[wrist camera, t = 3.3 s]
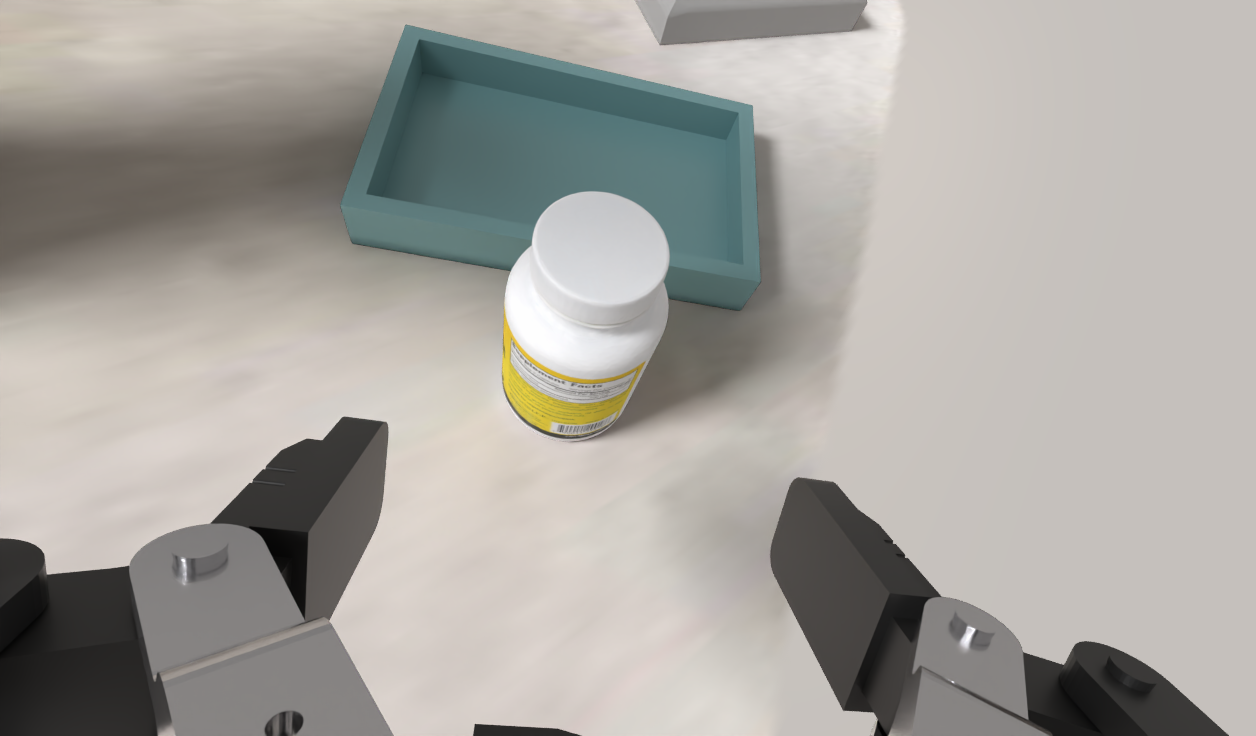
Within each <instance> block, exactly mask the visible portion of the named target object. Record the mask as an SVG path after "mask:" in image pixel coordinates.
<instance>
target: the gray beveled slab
mask: <svg viewBox="0 0 1256 736" xmlns="http://www.w3.org/2000/svg"><path fill="white" fill-rule="evenodd" d="M635 2H636V3H637V5H638V7H639V9H640V11H641V12H642V14H643V16H644V18H645V20H646V21H647V23H648V25H649V27H650V29H651V30H652V32H653V34H654V36H655V38H656V39H657V41H658V43H659V45H669V44H683V43H697V42H710V41H724V40H738V39H752V38H766V37H779V36H793V35H807V34H821V33H835V32H848V31H851V30H852V29H853V27H854V25H855V24H856V22H857V20H858V18H859V17H860V15H861V13H862V11H863V10H864V8H865V6H866V5H867V0H635Z"/></svg>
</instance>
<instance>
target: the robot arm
mask: <svg viewBox="0 0 1256 736" xmlns="http://www.w3.org/2000/svg"><path fill="white" fill-rule="evenodd" d="M387 445H388V424H387V423H386V422H382V421H374V420H367V419H359V418H352V417H342V418H341V419H340V421H339V422H338V423H337V424H336V425H335V426H334V428H333V429H332V430H331V431H330V432H329V433H328V435H327V436H326V437H325V438H324V439H323V440H314V439H305V440H303V441H301V442H298V443H296V444H294V445H292V446H290V447H288V448H286V449H283V450H281V451H280V452H279V453H278V454H277V455H276V456H275V457H274V458H273V460H272V461H271V462H270V463H269V464H268V465H267V466H266V469H265V470H264V469H263V470H262V471H261V472H260V473H259V474H258V475H257V476H256V477H255V478H254V479H253V482H252V483H249V484H248V485H247V486H246V487H245V488H244V489H243V490H242V491H241V492H240V493H239V495H238V496H237V497H236V498H235V499H234V500H233V501H232V502H231V503H230V504H229V505H228V506H227V507H226V508H225V509H224V510H223V511H222V512H221V513H220V514H219V515H218V516H217V517H216V518H215V519H214V520H213V521H212V522H211V523H210V524H204V525H197V526H191V527H187V528H183V529H179V530H176V531H173V532H170V533H167V534H165V535H163V536H161V537H158V538H157V539H155V540H153V541H151V542H149V543H148V544H147V545H145V546H144V547H143V548H141V549H140V550H139V551H138V552H137V553H136V554H135V556H134V557H133V559H132V560H131V563H130V566H126V567H118V568H111V569H101V570H91V571H80V572H70V573H60V574H50V575H47V574H46V566H45V557H44V553H43V552H42V550H41V549H40V548H38V547H37V546H36V545H34V544H31V543H29V542H25V541H21V540H15V539H0V736H394V735H393V734H392V732H391V730H390V728H389V726H388V725H387V723H386V721H385V719H384V717H383V716H382V714H381V712H380V710H379V708H378V707H377V705H376V703H375V701H374V699H373V698H372V696H371V694H370V692H369V690H368V689H367V687H366V685H365V683H364V681H363V680H362V678H361V676H360V674H359V672H358V671H357V669H356V667H355V665H354V663H353V662H352V660H351V658H350V656H349V654H348V653H347V651H346V649H345V647H344V645H343V644H342V642H341V640H340V638H339V636H338V635H337V633H336V631H335V629H334V628H333V626H332V624H331V623H330V622H329V620H330V618H331V616H332V614H333V612H334V610H335V608H336V606H337V604H338V602H339V600H340V598H341V596H342V594H343V592H344V590H345V588H346V586H347V584H348V583H349V581H350V579H351V577H352V575H353V573H354V571H355V569H356V567H357V565H358V563H359V561H360V559H361V557H362V555H363V553H364V551H365V549H366V547H367V545H368V543H369V541H370V539H371V537H372V535H373V533H374V531H375V529H376V526H377V523H378V520H379V517H380V513H381V508H382V502H383V493H384V481H385V469H386V457H387ZM770 558H771V567H772V571H773V574H774V576H775V578H776V580H777V582H778V584H779V586H780V588H781V590H782V592H783V594H784V595H785V597H786V599H787V601H788V603H789V605H790V607H791V609H792V611H793V613H794V615H795V617H796V619H797V621H798V623H799V625H800V627H801V628H802V630H803V633H804V635H805V637H806V638H807V641H808V642H809V644H810V646H811V648H812V650H813V652H814V654H815V656H816V658H817V660H818V662H819V664H820V666H821V668H822V670H823V672H824V674H825V676H826V678H827V680H828V682H829V684H830V685H831V688H832V689H833V691H834V693H835V695H836V697H837V699H838V701H839V703H840V705H841V707H842V709H843V710H844V711H861V712H874V713H875V715H876V717H877V719H876V722H875V724H874V727H873V729H872V731H871V734H870V736H1229V735H1228V734H1226V733H1225V732H1224V731H1223V730H1222V729H1221V728H1220V727H1219V726H1217V724H1215V723H1214V722H1213V721H1212V720H1211V719H1210V718H1209V717H1208V716H1207V715H1206V714H1204V713H1203V712H1202V711H1201V710H1200V709H1199V708H1198V707H1197V706H1195V705H1194V704H1193V703H1192V702H1191V701H1190V700H1189V699H1188V698H1187V697H1186V696H1184V695H1183V694H1182V693H1181V692H1180V691H1179V690H1178V689H1177V688H1175V687H1174V686H1173V685H1172V684H1171V683H1170V682H1169V681H1168V680H1166V679H1165V678H1164V677H1163V676H1162V675H1160V674H1159V673H1158V672H1156V671H1155V670H1154V669H1152V668H1151V667H1149V666H1148V665H1146V664H1144V663H1143V662H1141V661H1139V660H1137V659H1136V658H1134V657H1132V656H1130V655H1128V654H1126V653H1124V652H1122V651H1120V650H1117V649H1115V648H1112V647H1110V646H1107V645H1104V644H1100V643H1095V642H1087V641H1084V642H1079V643H1077V644H1076V645H1075V646H1074V647H1073V649H1072V651H1071V653H1070V655H1069V657H1068V659H1067V661H1066V663H1065V664H1064V665H1062V664H1058V663H1055V662H1052V661H1049V660H1046V659H1043V658H1039V657H1036V656H1033V655H1030V654H1027V653H1024V652H1023V651H1022V647H1021V645H1020V643H1019V641H1018V639H1017V638H1016V637H1015V635H1014V634H1013V633H1012V632H1011V631H1010V630H1009V629H1008V628H1007V627H1006V626H1005V625H1004V624H1002V623H1001V622H1000V621H998V620H997V619H996V618H994V617H993V616H991V615H990V614H988V613H986V612H985V611H983V610H981V609H979V608H977V607H975V606H973V605H971V604H968V603H966V602H963V601H960V600H957V599H952V598H946V597H941V596H940V594H939V593H938V592H937V591H936V590H935V589H934V587H933V586H932V585H931V584H930V583H929V582H928V581H927V580H926V578H925V577H924V576H923V575H922V574H921V573H920V571H919V570H918V569H917V568H916V567H915V566H914V565H913V563H912V562H911V561H910V560H909V559H908V558H905V554H904V553H903V552H902V551H901V550H900V548H899V547H898V546H897V545H896V544H893V540H892V539H891V538H890V537H889V536H888V535H887V533H886V532H885V531H884V530H883V529H882V528H881V527H880V525H879V524H877V523H876V522H875V521H873V520H872V519H870V518H869V517H868V516H866V515H865V514H864V513H862V512H861V511H859V510H858V509H857V508H856V507H855V506H854V504H852V502H851V501H850V500H849V499H848V497H847V496H846V495H845V494H844V493H843V491H842V490H841V489H840V488H839V487H838V486H837V485H836V484H835V483H834V482H829V481H822V480H814V479H807V478H796V479H795V480H794V481H793V482H792V483H791V485H790V487H789V490H788V493H787V496H786V499H785V503H784V506H783V509H782V512H781V515H780V518H779V522H778V525H777V528H776V531H775V534H774V538H773V541H772V545H771V554H770ZM473 736H580V735H577V734H574V733H570V732H567V731H564V730H560V729H553V728H535V727H518V726H500V725H482V724H475V727H474V734H473Z"/></svg>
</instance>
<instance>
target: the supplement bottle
mask: <svg viewBox="0 0 1256 736" xmlns="http://www.w3.org/2000/svg"><path fill="white" fill-rule="evenodd" d="M669 261H670V252H669V245H668V242H667V239H666V236H665V233H664V231H663V230H662V228H661V227H660V225H659V224H658V222H657V221H656V220H655V219H654V217H653V216H652V215H651V214H650V213H648V212H647V211H646V210H645V209H644V208H642V207H641V206H640V205H638V204H636V203H635V202H633V201H631V200H629V199H626V198H624V197H621V196H619V195H615V194H612V193H606V192H596V191H589V192H579V193H575V194H571V195H568V196H566V197H563V198H561V199H559V200H557V201H556V202H554V203H553V204H551V205H550V206H549V207H548V208H547V209H546V210H545V211H544V212H543V213H542V215H541V216H540V218H539V219H538V221H537V223H536V226H535V228H534V232H533V237H532V245H531V246H530V247H529V248H528V249H527V250H526V251H525V252H524V253H523V254H522V255H521V256H520V257H519V259H518V260H517V262H516V263H515V265H514V266H513V268H512V270H511V272H510V275H509V277H508V281H507V285H506V292H505V298H504V331H503V362H502V384H503V390H504V395H505V398H506V401H507V403H508V405H509V407H510V409H511V410H512V412H513V413H514V415H515V416H516V417H517V418H518V420H519V421H520V422H521V423H522V424H523V425H525V426H526V427H527V428H529V429H530V430H532V431H533V432H535V433H537V434H539V435H541V436H543V437H546V438H549V439H552V440H557V441H567V442H572V441H580V440H585V439H588V438H592V437H594V436H596V435H599V434H600V433H602V432H604V431H605V430H607V429H608V428H609V427H610V426H611V425H612V424H614V423H615V421H616V420H617V419H618V418H619V417H620V415H621V414H622V412H623V410H624V409H625V407H626V405H627V403H628V401H629V399H630V397H631V395H632V394H633V392H634V390H635V388H636V386H637V384H638V382H639V380H640V378H641V376H642V374H643V372H644V370H645V368H646V366H647V364H648V362H649V361H650V359H651V357H652V355H653V353H654V351H655V349H656V347H657V345H658V343H659V342H660V339H661V337H662V335H663V333H664V330H665V327H666V324H667V319H668V310H669V306H668V296H667V291H666V288H665V284H664V282H663V281H664V279H665V277H666V274H667V271H668V267H669Z"/></svg>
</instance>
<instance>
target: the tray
mask: <svg viewBox="0 0 1256 736" xmlns="http://www.w3.org/2000/svg"><path fill="white" fill-rule="evenodd" d="M589 191H596V192H606V193H612V194H615V195H619V196H621V197H624V198H626V199H629V200H631V201H633V202H635V203H636V204H638V205H640V206H641V207H642V208H644V209H645V210H646V211H647V212H648V213H650V214H651V215H652V216H653V217H654V219H655V220H656V221H657V222H658V224H659V225H660V227H661V228H662V230H663V231H664V233H665V236H666V239H667V242H668V245H669V252H670V261H669V267H668V271H667V274H666V277H665V279H664V281H663V282H664V284H665V288H666V291H667V296H668V298H669V299H674V300H680V301H686V302H692V303H697V304H703V305H709V306H715V307H720V308H726V309H732V310H737V311H740V310H741V309H742V307H743V306H744V305H745V303H746V302H747V301H748V299H749V298H750V296H751V295H752V294H753V292H754V291H755V290H756V288H757V287H758V285H759V284H760V283H761V278H760V256H759V234H758V212H757V190H756V169H755V147H754V125H753V106H752V105H748V104H744V103H739V102H735V101H731V100H727V99H722V98H718V97H714V96H709V95H705V94H701V93H697V92H692V91H688V90H684V89H680V88H675V87H671V86H667V85H662V84H658V83H654V82H650V81H645V80H641V79H637V78H632V77H628V76H624V75H620V74H615V73H611V72H607V71H602V70H598V69H594V68H590V67H585V66H581V65H577V64H572V63H568V62H564V61H560V60H555V59H551V58H547V57H542V56H538V55H534V54H530V53H525V52H521V51H517V50H512V49H508V48H504V47H500V46H495V45H491V44H487V43H482V42H478V41H474V40H470V39H465V38H461V37H457V36H452V35H448V34H444V33H440V32H435V31H431V30H427V29H423V28H418V27H414V26H410V25H405V28H404V30H403V33H402V36H401V39H400V41H399V44H398V47H397V50H396V52H395V55H394V58H393V61H392V63H391V66H390V69H389V72H388V74H387V77H386V80H385V83H384V85H383V88H382V91H381V94H380V96H379V99H378V102H377V105H376V107H375V110H374V113H373V116H372V118H371V121H370V124H369V127H368V129H367V132H366V135H365V138H364V140H363V143H362V146H361V149H360V151H359V154H358V157H357V160H356V163H355V165H354V168H353V171H352V174H351V176H350V179H349V182H348V185H347V187H346V190H345V193H344V196H343V198H342V201H341V204H340V207H341V210H342V213H343V216H344V219H345V223H346V226H347V229H348V232H349V235H350V239H351V242H352V243H353V244H359V245H365V246H370V247H376V248H382V249H388V250H393V251H399V252H405V253H411V254H416V255H422V256H428V257H433V258H439V259H445V260H451V261H456V262H462V263H468V264H474V265H479V266H485V267H491V268H497V269H502V270H508V271H511V270H512V268H513V266H514V265H515V263H516V262H517V260H518V259H519V257H520V256H521V255H522V254H523V253H524V252H525V251H526V250H527V249H528V248H529V247H530V246H531V245H532V237H533V232H534V228H535V226H536V223H537V221H538V219H539V218H540V216H541V215H542V213H543V212H544V211H545V210H546V209H547V208H548V207H549V206H550V205H551V204H553V203H554V202H556V201H557V200H559V199H561V198H563V197H566V196H568V195H571V194H575V193H579V192H589Z"/></svg>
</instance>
